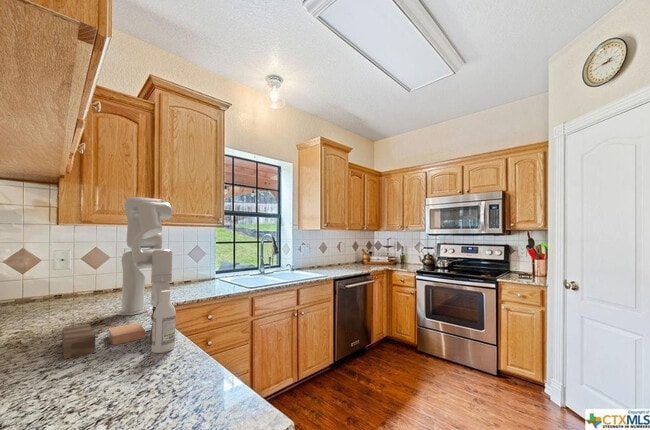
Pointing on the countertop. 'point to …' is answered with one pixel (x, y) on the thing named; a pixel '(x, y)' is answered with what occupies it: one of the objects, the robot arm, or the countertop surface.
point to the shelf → (78, 340)
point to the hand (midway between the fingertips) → (160, 320)
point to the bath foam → (164, 325)
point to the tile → (126, 333)
